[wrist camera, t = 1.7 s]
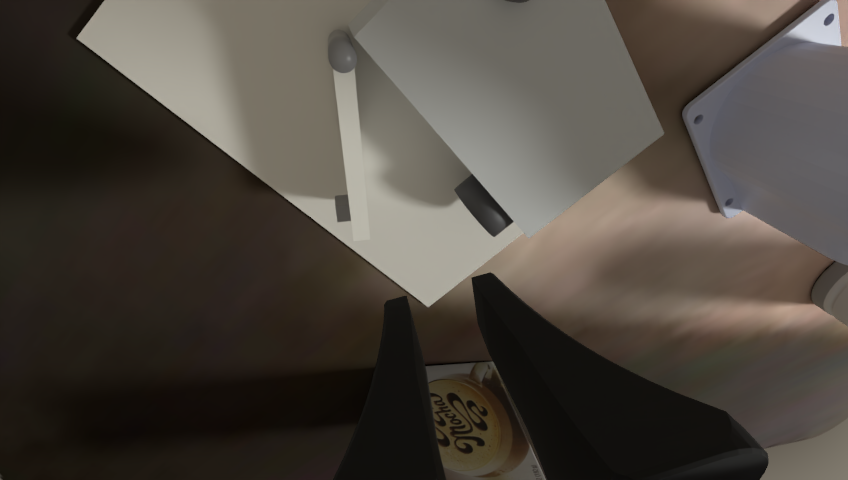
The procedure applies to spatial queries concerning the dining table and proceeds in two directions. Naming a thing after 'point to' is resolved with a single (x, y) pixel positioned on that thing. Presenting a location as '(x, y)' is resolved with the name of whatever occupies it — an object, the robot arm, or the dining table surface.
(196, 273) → the dining table surface
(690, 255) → the dining table surface
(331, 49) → the side door
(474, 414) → the coffee box
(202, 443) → the dining table surface
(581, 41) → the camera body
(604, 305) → the dining table surface
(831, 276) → the travel mug
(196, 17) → the mat
